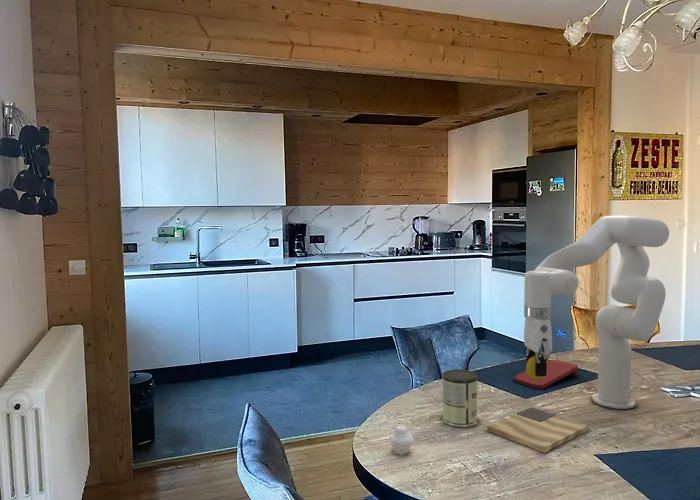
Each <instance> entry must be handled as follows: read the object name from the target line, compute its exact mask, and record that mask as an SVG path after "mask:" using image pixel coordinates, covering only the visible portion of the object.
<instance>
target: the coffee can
mask: <svg viewBox="0 0 700 500" xmlns="http://www.w3.org/2000/svg"><path fill="white" fill-rule="evenodd" d="M441 376H442V421H443V422H444V423H445V424H446V425H449V426H451V427H456V428H470V427H473V426H475V425H477V423H478V378H479V375H478V373H476V372H474V371H471V370H467V369H448V370H445V371H443V372H442V375H441Z"/></svg>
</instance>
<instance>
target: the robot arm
mask: <svg viewBox="0 0 700 500" xmlns="http://www.w3.org/2000/svg"><path fill="white" fill-rule="evenodd" d="M669 237H670V229H669V227H668V225H667V224H666V222H664V221H663V220H661V219H655V218H654V219H653V218H650V217H649V218H647V217H641V216H635V215H605V216H601V217H600V218H598V219H597V220H596V221H595V222H594V223H593V224H592V225H591V226H590V227H589V228H588V229H587V230H586V231H585V232H584V233H583V234H582V235H581V236H580V237H579V238H578V239H577V240H576V241H575V242H573V243H571V244H569V245H566V246H565V247H563V248H561V249H559V250H557V251H555V252H552V253H551V254H550V255H548V256H547V257H545V258H544V259H543V260H542V261H541V262H540V263H539V264H538V265H537V266H536V267H535V268H534V270H528V271H526V272H525V273H524V280H523V281H524V282H523V283H524V284H523V285H524V287H523V288H524V291H523V318H524V325H523V326H524V327H523V344H524V346H525V350H526V351H525V356H526V357H525V358H526V360H525V363H526V364H525V367H526V366H527V362H528V360H529V359H530V358H531V357H533V356H535V355H536V359H537V362H535V375H536V376H546V375H547V362H548V361H547V360H549V358H550V356H551V353H552V352H553V330H552V321H551V318H552V295H556V296H558V295H559V296H568V295H571V294H573V293H574V292H576V290H577V289H578V287H579V285H580V284H579V278H578V275H576V273H574V272H573V271H570V270H572V269H575V268H581V267H585V266H588V265H592V264H595V263H598V261H599V260H601V258H602V257H604V255H606V253H607V252H608V251H609V250H610V249H611V248H612V247H613V246H614V245H615V244H616V245H617V247H618V249H619V253H620V261H619V265H618V267H617V270H616V273H615V276H614V279H613V282H612V285H611V289H610V296H611V298H612V299H613V301H616V302H618V303H620V304H624V305H628V306H629V305H630V306H634V307H635V306H636V307H635V308H632V307H626V306H620V305H614V304H613V305H612V304H611V305H604V306H602V307H601V308H600V309H598V311H597V313H596V314H595V316H596V317H595V324H596V325H595V326H596V331H597V338H598V354H597V355H598V356H597V358H598V359H597V361H598V363H597V393H594V394H592V396H591V400H592V401H593V403H595V404H597V405H598V406H602V407H605V408H609V409H615V410H617V409H618V410H628V409H632V408H635V407H636V403H637V402H636V400H635V399H634V398H632V397H631V393H632V392H634V391H635V390H634V387H633V386H632V383H631V382H632V381H631V380H632V346H631V344H630V341H629V340H631V341H636V342H646V341H649V340H650V339H651V338H652V337H653V335H654V333H655V331H656V328H657V325H658V323H659V319H660V318H661V317H660V316H661V313H662V310H663V308H664V305H665V301H666V293H667V292H666V288H665V287H666V286H665V285H664V283H663V282H662V281H661V279H658V278H656V277H651V276H648V274H649V273H648V272H649V269H650V258H649V256H648V253H647V252H646V250H645V248H658V247H659V248H660V247H662V246H663V245H665V244H666V243H667V242H668V240H669Z"/></svg>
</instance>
